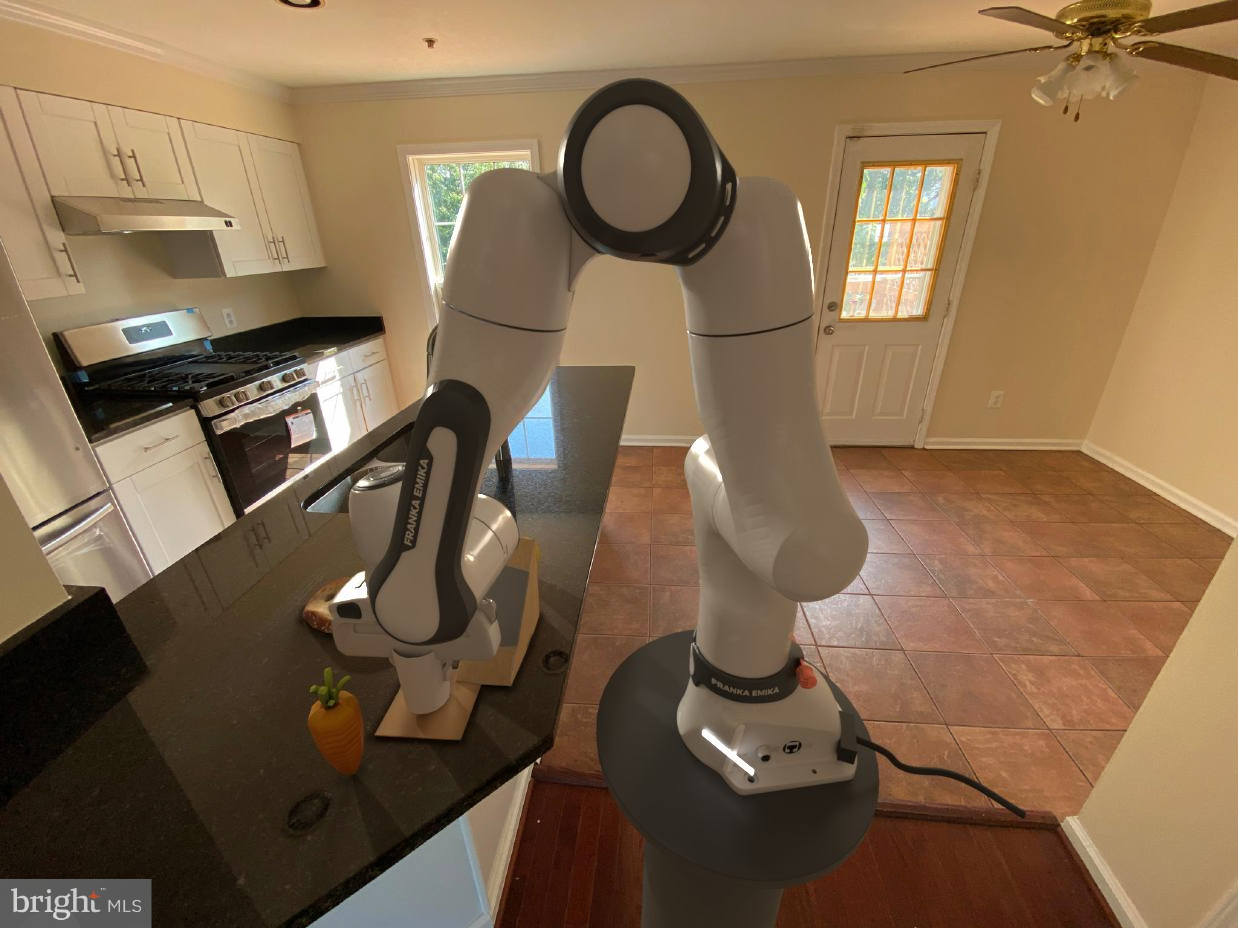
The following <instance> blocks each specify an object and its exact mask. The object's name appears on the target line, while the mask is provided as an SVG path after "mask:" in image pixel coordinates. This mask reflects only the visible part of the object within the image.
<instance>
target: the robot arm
mask: <svg viewBox="0 0 1238 928" xmlns="http://www.w3.org/2000/svg"><path fill="white" fill-rule="evenodd" d="M556 163H557V164H556V167H555V168H554V169H553V170H551V171H547V172H537V171H533V170H528V169H525V168H519V167H498V168H493V169H489V170H486V171H484V172H481V173H480V174H478V175H477V176H475V177H474V178H473V179H472V180H471V182H470V183H469V184H468V186H467V188H466V190H465V192H464V195H463V198H462V201H461V204H460V206H459V210H458V213H457V216H456V220H455V224H454V228H453V231H452V235H451V238H450V244H449V247H448V251H447V252H448V253H447V257H446V262H445V268H444V274H443V281H442V290H441V299H440V307H439V315H438V321H437V330H436V336H435V342H434V348H433V352H432V359H431V363H430V368H429V372H428V376H427V381H426V383H425V387H424V391H423V394H422V398H421V401H420V404H419V407H418V410H417V411H418V412H417V414H416V417H415V421H414V424H413V428H412V431H411V436H410V439H409V440H410V441H409V445H408V449H407V454H406V460H405V463H397V464H392V465H388V466H384V467H382V468H380V469H376V470H374V471H372V472H370V473H368V474H367V475H365V476H364V477H362V478H361V479H359V480H358V481H357V482H356V483H354V485H353V486H352V487H351V488H350V491H349V497H348V514H349V516H348V517H349V522H350V528H351V533H352V538H353V542H354V546H355V550H356V553H357V556H358V557H359V559H360V560H361V561H362V563H363V566H364V570H363V571H359V572H357V573H356V574H354V576H351V577H350V578H351V579H350V580H349V581H348V582H347V583H346V584H345V585H344V586H343V587H342V589H341V590H340V591H339V592H338V593H337V594H336V596H335V597H334V598H333V600H332V601H331V602H330V604H329V606H328V609H329V612H330V614H331V616H332V617H333V619H332V622H331V626H332V633H331V634H332V637H333V641H334V644H335V647H336V649H337V650H338V651H339V653H341V654H342V655H344V656H347V657H366V658H367V657H369V658H387V659H388V662H389V663H390V664H391V665H392V666H394V667H395V668H396V665H395V661H394V657H393V653H392V649H391V648H393V651H394V652H395V653H396V654H398V655H399V656H401V657H408V658H418V657H421V656H424V655H427V654H430V653H431V652H433V651H434V653H435V659H439V660H441V663H444V664H445V663H446V664H445V666H444V668H443V670H442V672H443V681H449V679H450V677H451V675H452V669H453V663H454V661H460V660H464V661H490V660H491V659H492V658H493V657H494V656H495V655H496V653H497V651H498V648H499V645H500V642H501V633H500V629H499V625H498V621H497V610H496V604H495V602H494V601H492V600H491V599H489V598H487V597H485V595H486V594H487V592H488V591H489V590H490V588H491V587H492V585H493V584H494V582H495V581H496V579H497V578H498V576H499V575H500V573H501V571H502V570H503V568H504V567H505V565H506V564H507V562H508V561H509V559H510V558H511V556H512V554H513V553H514V551H515V550H516V548H517V546H518V543H519V538H520V530H519V525H518V523H517V520H516V517H515V516H514V515H513V513H512V512H511V510H510V509H509V507H507V506H506V505H505V503H503V502H502V501H500V500H499V499H497V498H496V497H493V496H492V495H488V494H486V493H480V490H481V487H482V483H483V481H484V479H485V476H486V473H487V471H488V469H489V467H490V465H491V463H492V461H493V460H494V458H495V457H496V455H497V453H498V452H499V450H500V449H501V448H502V446H503V444H504V443H505V442H506V440H507V439H508V438H509V437H510V435H511V434H512V433H513V432H514V430H515V429H516V428H518V426H519V425H520V423H521V422H522V421H523V420H524V419H525V417H526V416H527V415H528V414H529V413H530V412H531V410H532V409H533V408H534V407H535V406H536V405H537V404H538V402H539V401H540V400H541V399H542V397H543V396H544V395H545V393H546V390H547V388H548V387H549V385H550V382H551V380H552V378H553V375H554V372H555V370H556V369H557V366H558V363H559V360H560V357H561V353H562V351H563V347H564V343H565V340H566V334H567V328H568V327H569V325H568V324H569V321H570V316H571V311H572V306H573V302H574V297H575V293H576V289H577V286H578V283H579V280H580V278H581V276H582V275H583V272H584V270H586V268H587V267H588V265H589V264H590V263H592V262H593V261H594V260H595V259H597V258H599V257H601V256H604V255H605V256H606V255H609V256H611V257H613V258H618V259H621V260H626V261H630V262H631V261H632V262H640V263H654V264H661V265H669V266H672V268H673V270H674V271H675V274H676V275H677V279H678V282H679V285H680V289H681V293H682V298H683V299H682V300H683V305H684V315H685V325H686V333H687V342H688V351H689V358H690V365H691V366H690V367H691V373H692V382H693V383H692V385H693V391H694V399H695V406H696V410H697V413H698V417H699V420H700V421H701V423H702V425H703V427H704V429H705V432H706V433H704V434H703V435H702V436H700V437H698V439H696V441H695V442H694V443H693V444H692V445H691V446H690V448H689V449H688V452H687V454H686V457H685V460H684V465H683V472H684V478H685V482H686V485H687V489H688V492H689V497H690V504H691V510H692V521H693V532H694V540H695V550H696V557H697V566H698V574H699V575H698V576H699V597H698V598H699V599H698V610H697V611H698V612H697V625H696V627H695V628H694V630H695V631H694V634H693V640H692V644H691V651H690V665H689V669H690V674H691V676H690V680H689V683H688V686H687V689H686V692H685V694H684V696H683V698H682V700H681V702H680V704H679V707H678V710H677V725H678V729H679V733H680V735H681V737H682V739H683V741H684V743H685V745H686V746H687V747H688V749H689V750H690V751H691V752H692V753H693V754H694V756H696V757H697V758H698V759H699V760H700V761H701V762H703V763H704V764H706V765H707V766H709V767H710V768H712V769H713V770H715V771H716V772H718V773H719V774H720V775H721V776H722V778H723V779H724V780H725V782H726V783H727V784H728V785H729V786H730V788H731V789H732V790H733V791H735V792H736V793H737V794H739V795H751V794H758V793H765V792H772V791H779V790H786V789H793V788H800V787H806V786H813V785H820V784H827V783H834V782H841V781H847V780H851V779H853V778H854V776H855V773H856V768H857V743H858V744H860V745H862V746H865V747H867V748H870V749H872V750H874V751H875V753H878V754H880V755H881V756H883V757H885V758H886V759H887V760H888V761H889V762H890V763H891V765H892V766H893V767H895V768H896V769H898V770H900V771H902V772H905V773H908V774H911V775H916V776H933V777H934V776H935V777H942V778H943V777H944V778H948V779H951V780H955V781H957V782H959V783H962V784H964V785H967V786H969V787H971V788H972V789H974V790H976V791H977V792H979V793H981V794H983V795H984V796H986V797H988V798H989V799H991V800H992V801H994V802H995V803H997V804H999V805H1000V806H1001V807H1003V808H1005V809H1006V810H1008V811H1009V812H1011V813H1013V814H1014V815H1016V816H1017V817H1019V818H1021V819H1022V820H1025V818H1026V816H1027V811H1025V810H1024V809H1023V808H1020V807H1019V806H1017V805H1016V804H1014V803H1012V802H1011V801H1009V800H1008V799H1006V798H1004V797H1003V796H1002V795H1000V794H998V793H997V792H996V791H994V790H992V789H990V788H989V787H987V786H986V785H984V784H982V783H980V782H979V781H977V780H975V779H973V778H970V777H969V776H967V775H964V774H962V773H960V772H957V771H954V770H951V769H947V768H942V767H932V766H915V765H909V764H906V763H903V762H901V761H900V760H899V759H898V758H897V756H895V755H894V753H892V752H891V751H890V750H888V749H887V748H885V747H884V746H882V745H880V744H878V743H876V742H873V741H872V742H871V741H869V740H866V739H864V738H861V737H859V736H857V735H856V730H855V719H854V714H851V713H847V712H844V711H842V710H841V708H840V706H839V705H838V703H837V702H836V700H835V698H834V696H833V694H832V692H831V689H830V688H829V686H828V684H827V682H826V681H825V679H824V678H823V676H822V675H821V674H820V673H819V671H818V670H817V669H815V668H814V667H813V666H811V665H809V664H807V663H806V662H804V659H805V654H804V651H803V649H802V647H801V645H799V644H798V642H797V640H796V636H795V635H794V631H795V626H796V622H797V616H798V610H799V603H802V604H803V603H806V604H809V603H815V602H821V601H825V600H827V599H830V598H833V597H834V596H836V595H838V594H840V593H841V592H843V591H844V590H846V589H847V588H849V586H851V585H852V584H853V582H855V580H856V579H857V577H859V575H860V573H861V571H862V570H863V568H864V565H865V563H866V560H867V558H868V553H869V547H870V537H869V534H868V530H867V527H866V525H865V524H864V522H863V521H862V519H861V518H860V516H859V514H858V512H857V511H856V509H855V508H854V506H853V504H852V503H851V501H850V499H849V497H848V494H847V492H846V490H845V489H844V486H843V483H842V481H841V478H840V475H839V472H838V469H837V466H836V463H835V459H834V456H833V452H832V449H831V445H830V443H829V440H828V435H827V433H826V429H825V424H824V420H823V416H822V413H821V407H820V401H819V395H818V394H819V393H818V385H817V381H818V380H817V358H816V357H817V354H816V353H817V352H816V304H815V283H814V271H813V263H812V254H811V248H810V241H809V236H808V230H807V225H806V220H805V217H804V211H803V207H802V203H801V201H800V198H799V197H798V195H797V193H796V192H795V190H794V189H793V188H792V187H790V185H788V184H787V183H785V182H783V181H781V180H780V179H776V178H773V177H769V176H764V175H745V176H744V175H743V176H738V172H737V171H736V169H735V168H734V166H733V165H732V163H731V161H730V160H729V159H728V157H727V156H726V154H725V153H724V150H722V149H721V147H720V145H719V144H718V142H717V140H716V139H715V137H714V136H713V134H712V132H711V130H710V129H709V126H708V125H707V124H706V122H705V121H704V119H703V117H702V116H701V115H700V113H699V112H698V110H697V109H696V108H695V107H694V105H693V104H692V103H691V102H690V101H689V100H688V99H687V98H686V97H685V96H684V95H682V94H681V93H680V92H678V91H677V90H676V89H675V88H673V87H672V86H669V85H667V84H666V83H663V82H661V81H658V80H655V79H650V78H646V77H645V78H643V77H631V78H630V77H629V78H624V79H619V80H616V81H612V82H610V83H608V84H606V85H604V86H602V87H601V88H599V89H597V90H596V91H595V92H593V93H592V94H590V95H589V96H588V97H587V98H586V99H585V100H584V101H583V102H582V103H581V104H580V105H579V107H578V108H577V109H576V111H575V112H574V113H573V115H572V116H571V118H570V120H569V122H568V124H567V125H566V128H565V130H564V131H563V134H562V138H561V140H560V145H559V150H558V154H557V162H556ZM748 780H752V781H753V782H754V783H750V782H749V781H748Z"/></svg>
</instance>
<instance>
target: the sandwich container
mask: <svg viewBox="0 0 1238 928" xmlns="http://www.w3.org/2000/svg"><path fill="white" fill-rule="evenodd" d="M536 544H537V541H536V539H534V538H530V539H525V538H522V537H519V543H518V546H517V548H516V550H515V551H514V553H513V554H512V556H511V558H510V559H509V561H508V562H507V564H506V565H505V567H504V568H503V570H502V571H501V573H500V575H499V576H498V578H497V579H496V581H495V582H494V584H493V585H492V587H491V588H490V590H489V591H488V592H487V594H486V595H485V597H487V598H489V599H491V600H492V601H494V602H495V604H496V610H497V621H498V625H499V629H500V633H501V642H500V645H499V648H498V651H497V653H496V655H495V656H494V657H493V658H492V659H491V660H490V661H464V660H459V663H458V667H457V669H458V671H457V676H456V681H463V682H470V683H477V684H482V685H488V686H506V687H512V686H513V683H514V680H515V679H516V676H517V673H518V672H519V670H520V667H521V665H522V662H523V660H524V657H525V655H526V653H527V650H528V648H529V645H530V642H531V639H532V637H533V635H534V633H535V630H536V627H537V623H538V621H539V618H540V601H539V581H538V566H537V558H536Z"/></svg>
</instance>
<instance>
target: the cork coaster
mask: <svg viewBox="0 0 1238 928" xmlns="http://www.w3.org/2000/svg"><path fill="white" fill-rule="evenodd" d="M457 671H458V668H452V675H451V677H450V679H449V681H450V694H449V698H448V699H447V701H446V702H445V704H444V705H443V706H441V707H440V708H439V709H437V710H435V711H433V712H430V713H427V714H416V713H413V712H410V711H409V710H408V709H407V708H406V704H405V701H404V697H403V693H402V689H401V687H400V688H399V690H398V692H397V694H396V696H395V697H394V699H393V701H392V703H391V705H390V706H389V708H388V709H387V712H386V713H385V714H384V717H383V719H382V720H381V722H380V724H379V726H378V727H377V730H376V731H375V733H374V737H385V738H386V737H389V738H406V739H407V738H408V739H423V740H424V739H425V740H426V739H428V740H444V741H445V740H447V741H461V740H462V738H463V735H464V732H465V730H466V727H467V724H468V723H469V720H470V717H471V714H472V711H473V709H474V706H475V703H476V701H477V698H478V695H479V692H480V690H481V687H482V685H483V684H477V683H470V682H463V681H456V676H457Z"/></svg>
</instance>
